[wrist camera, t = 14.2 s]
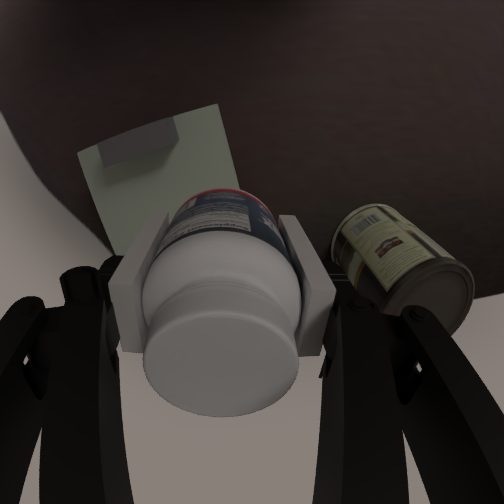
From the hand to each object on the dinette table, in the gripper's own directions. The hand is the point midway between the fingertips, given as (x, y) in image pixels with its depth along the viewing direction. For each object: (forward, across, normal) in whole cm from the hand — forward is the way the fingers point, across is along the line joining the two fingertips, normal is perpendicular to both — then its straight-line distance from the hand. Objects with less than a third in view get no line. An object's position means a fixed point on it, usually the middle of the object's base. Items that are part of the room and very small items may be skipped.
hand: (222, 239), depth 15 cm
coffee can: (+18, +17, -7) cm, 26 cm away
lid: (+10, -4, -2) cm, 11 cm away
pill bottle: (0, 0, 0) cm, 0 cm away
